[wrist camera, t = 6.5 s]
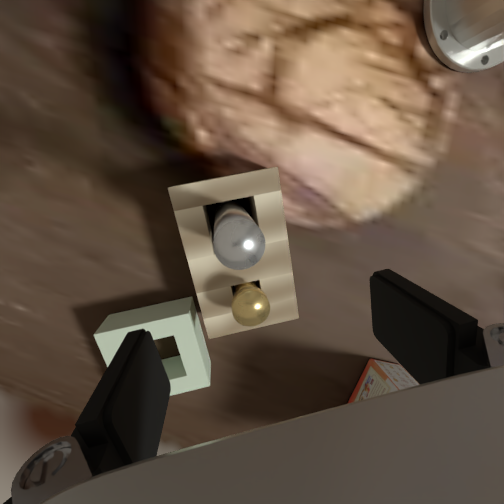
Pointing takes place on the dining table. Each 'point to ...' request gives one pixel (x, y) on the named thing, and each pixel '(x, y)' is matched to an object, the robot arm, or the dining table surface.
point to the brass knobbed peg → (249, 304)
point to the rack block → (163, 325)
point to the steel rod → (237, 237)
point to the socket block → (221, 277)
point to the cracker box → (381, 380)
